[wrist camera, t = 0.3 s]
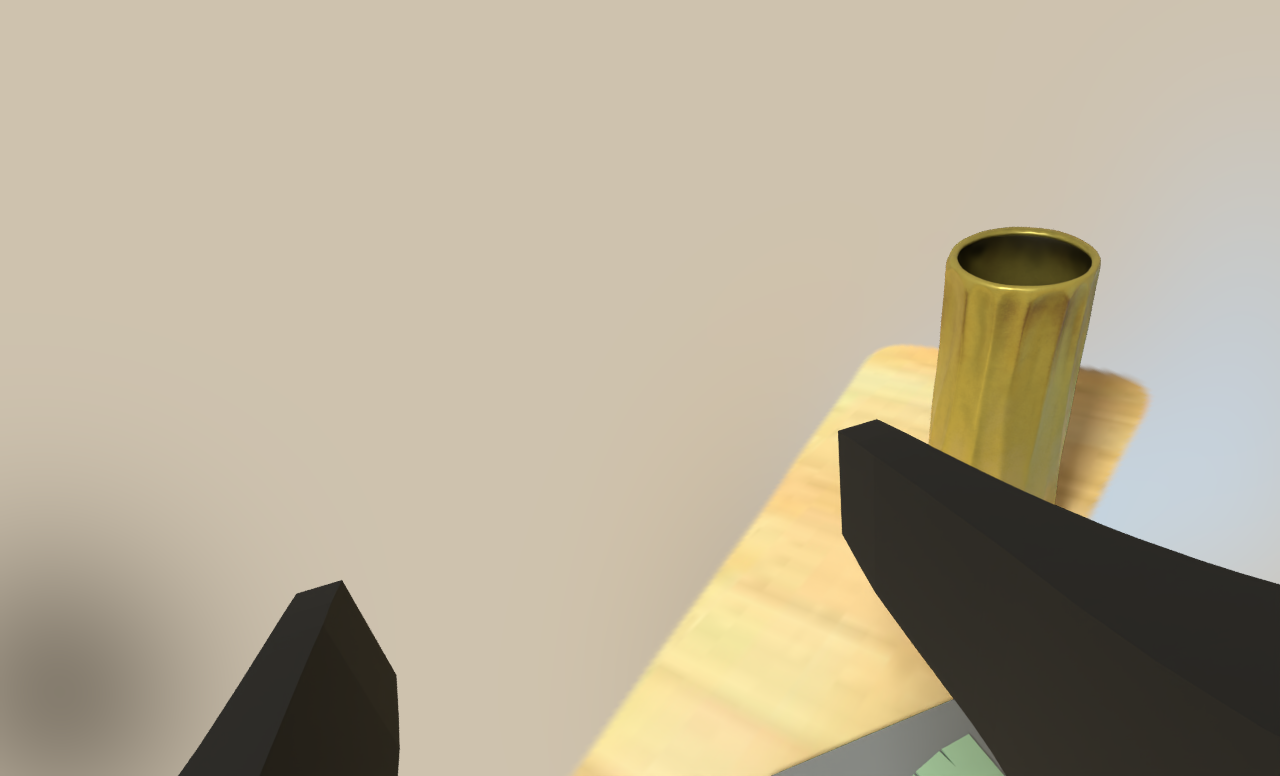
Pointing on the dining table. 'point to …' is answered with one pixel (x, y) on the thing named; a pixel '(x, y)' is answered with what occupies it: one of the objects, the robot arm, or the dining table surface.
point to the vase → (1012, 352)
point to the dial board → (910, 750)
